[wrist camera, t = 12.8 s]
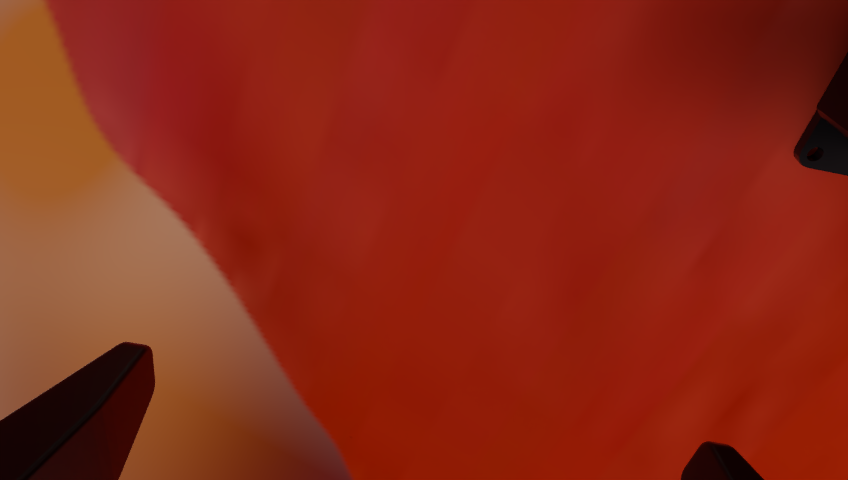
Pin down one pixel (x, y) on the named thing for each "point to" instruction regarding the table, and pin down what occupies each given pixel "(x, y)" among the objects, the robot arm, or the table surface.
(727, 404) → the table surface
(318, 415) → the table surface
